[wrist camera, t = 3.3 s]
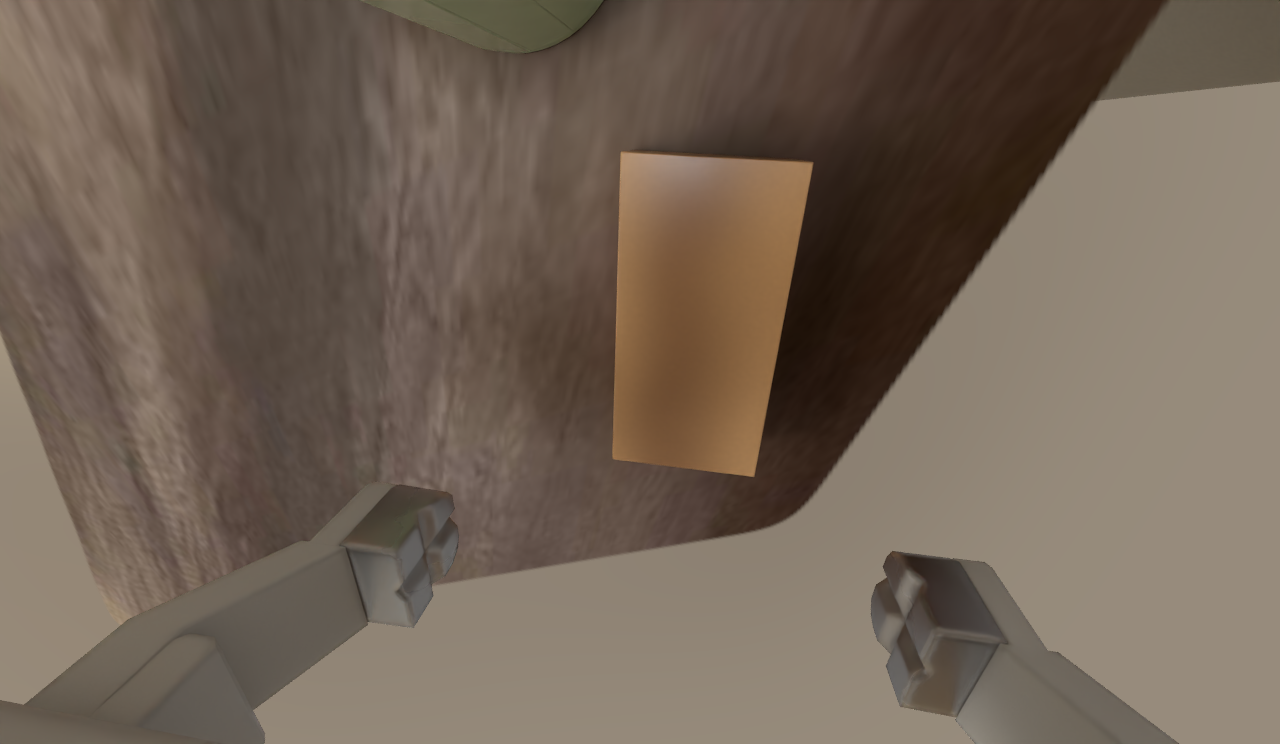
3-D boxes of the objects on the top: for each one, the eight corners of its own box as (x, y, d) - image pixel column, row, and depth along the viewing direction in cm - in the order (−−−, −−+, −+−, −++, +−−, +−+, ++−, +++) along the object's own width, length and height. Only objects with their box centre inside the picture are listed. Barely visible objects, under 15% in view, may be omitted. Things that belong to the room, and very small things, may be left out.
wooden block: (799, 158, 19) (814, 162, 16) (750, 440, 24) (754, 477, 22) (633, 149, 19) (620, 151, 17) (623, 425, 25) (612, 459, 22)
